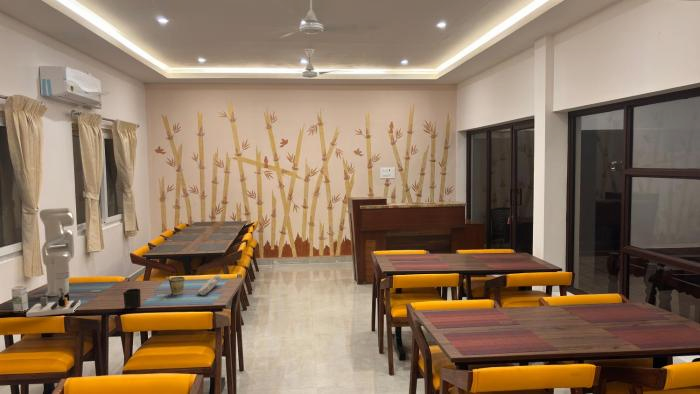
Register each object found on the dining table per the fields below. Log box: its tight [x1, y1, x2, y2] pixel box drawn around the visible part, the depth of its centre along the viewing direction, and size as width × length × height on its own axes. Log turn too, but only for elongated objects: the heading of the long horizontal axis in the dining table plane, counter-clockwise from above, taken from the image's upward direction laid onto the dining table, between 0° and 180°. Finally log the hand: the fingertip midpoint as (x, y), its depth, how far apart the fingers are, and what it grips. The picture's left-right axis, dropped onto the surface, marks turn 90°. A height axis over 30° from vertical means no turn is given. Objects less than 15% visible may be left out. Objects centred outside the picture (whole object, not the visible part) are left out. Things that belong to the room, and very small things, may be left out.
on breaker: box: [40, 296, 49, 306], centre depth 300 cm, size 2×3×4 cm
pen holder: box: [122, 288, 142, 310], centre depth 302 cm, size 9×9×10 cm
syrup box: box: [11, 285, 29, 312], centre depth 298 cm, size 6×6×14 cm
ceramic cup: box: [168, 276, 186, 296], centre depth 332 cm, size 13×10×10 cm
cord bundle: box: [51, 297, 80, 310], centre depth 300 cm, size 15×12×2 cm
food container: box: [196, 274, 221, 296], centre depth 338 cm, size 12×30×6 cm, turn 179°
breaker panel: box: [25, 299, 82, 318], centre depth 299 cm, size 18×24×3 cm
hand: (64, 303), depth 297 cm, fingers open, 9 cm apart
